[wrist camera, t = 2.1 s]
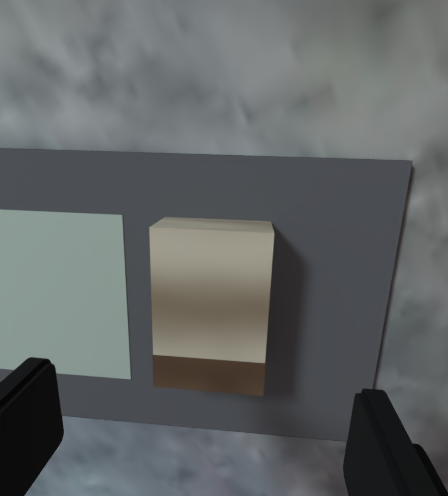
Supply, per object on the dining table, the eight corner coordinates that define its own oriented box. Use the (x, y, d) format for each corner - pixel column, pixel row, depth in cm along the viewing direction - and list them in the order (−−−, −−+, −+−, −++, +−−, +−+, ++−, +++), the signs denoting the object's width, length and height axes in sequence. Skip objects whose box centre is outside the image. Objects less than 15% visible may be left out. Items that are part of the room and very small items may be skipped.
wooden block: (261, 362, 21) (263, 396, 18) (167, 355, 21) (153, 386, 18) (271, 221, 18) (274, 233, 15) (164, 216, 19) (148, 227, 16)
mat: (360, 437, 22) (363, 443, 22) (-31, 401, 24) (-37, 407, 24) (408, 160, 17) (412, 160, 17) (-84, 145, 19) (-94, 145, 19)
